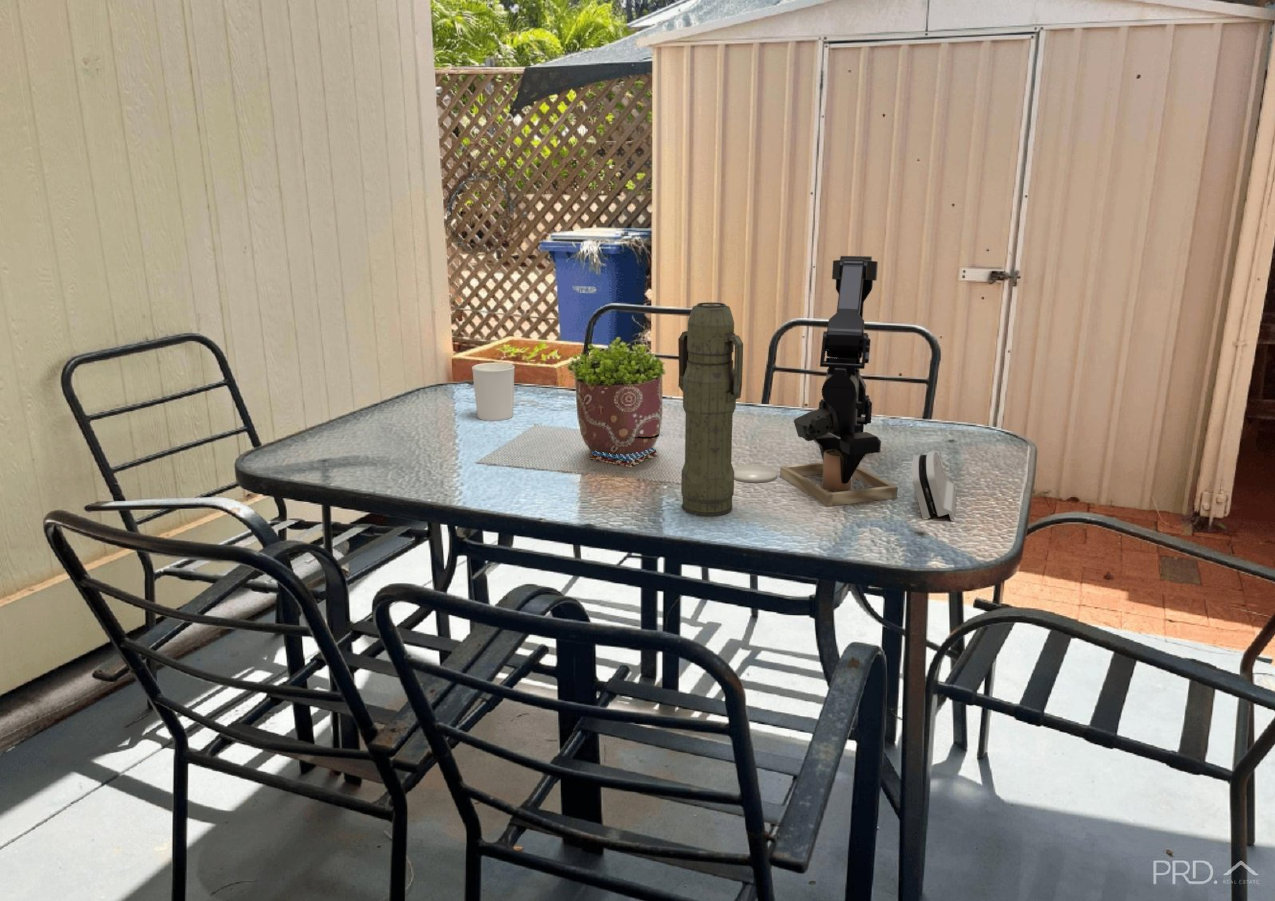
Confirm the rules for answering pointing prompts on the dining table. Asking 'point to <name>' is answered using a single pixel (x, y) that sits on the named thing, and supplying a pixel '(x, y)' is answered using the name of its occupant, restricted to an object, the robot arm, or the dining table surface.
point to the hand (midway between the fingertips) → (836, 478)
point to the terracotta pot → (833, 472)
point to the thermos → (709, 407)
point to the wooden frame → (877, 492)
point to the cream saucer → (754, 473)
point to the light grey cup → (494, 390)
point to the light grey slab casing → (933, 486)
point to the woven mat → (624, 457)
